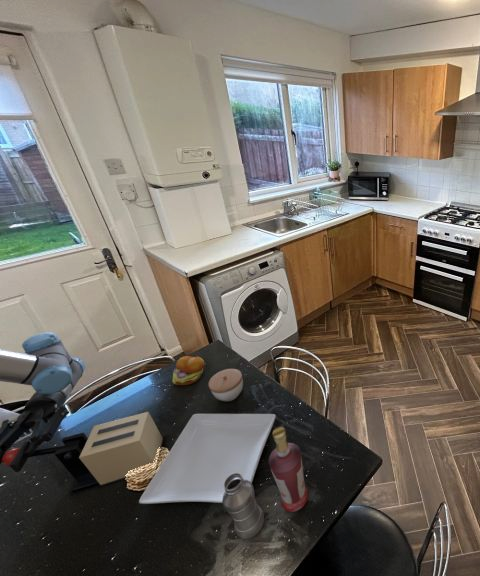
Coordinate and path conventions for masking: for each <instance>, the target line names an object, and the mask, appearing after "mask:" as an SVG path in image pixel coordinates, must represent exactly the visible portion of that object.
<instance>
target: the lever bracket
mask: <svg viewBox="0 0 480 576" xmlns="http://www.w3.org/2000/svg"><path fill="white" fill-rule="evenodd" d="M88 438H89V437H88V436H87V435H86V433H85V432H80V433H76V434H73V435H68V436H65V437H62V439H61V442H62V443H63V444H64V445H65V444H66V442H68V441H74V440H81V443H82V447H81V449H80V448H79V447H78V445H76V446H72V447H68V448H65V449H61V450H58V451H56V452H55V453H53V454H54V456H55V457H56V458H57V459H58V461H59V462H60V463H61V464H62V466H63V467H64V468H65V469H66V470H67V472H69V474H70V475H71V476H72V477H73V478H74V479H75V481H74V483H73V485H72V488H71V489H70V490H71V493H77V492H80V491H84V490H87V489H90V488H94V487H96V486H100V484H99V482H98V481H97V480H96V479H95V477H94V476H93V475H92V473H91V472H90V471H89V470H88V468H87V467H86V466H85V465H84V463H83V462H82V461H81V459H80V458H79V457H80V455H81V453H82V450H83V448H84V446H85V444H86V442H87V440H88Z"/></svg>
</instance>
